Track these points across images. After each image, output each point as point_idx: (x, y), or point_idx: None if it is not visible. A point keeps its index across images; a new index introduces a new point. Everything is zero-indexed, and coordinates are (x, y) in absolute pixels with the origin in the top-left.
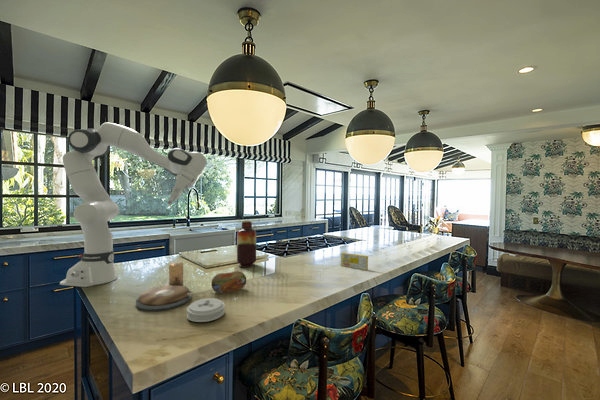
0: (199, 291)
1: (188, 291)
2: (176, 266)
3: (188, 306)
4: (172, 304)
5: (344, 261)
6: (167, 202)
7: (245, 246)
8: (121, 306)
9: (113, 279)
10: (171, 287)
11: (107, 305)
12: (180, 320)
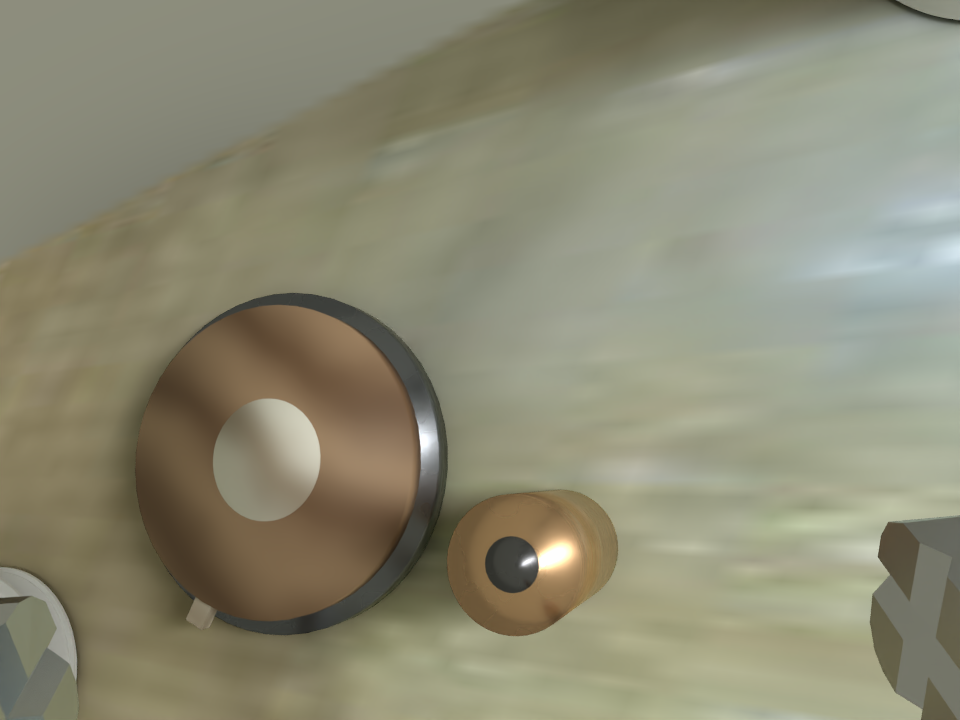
0: (357, 700)
1: (228, 613)
2: (449, 562)
3: (2, 583)
4: None
5: None
6: (901, 527)
7: None
8: (305, 221)
9: (930, 7)
10: (356, 504)
11: (353, 139)
12: (14, 534)
